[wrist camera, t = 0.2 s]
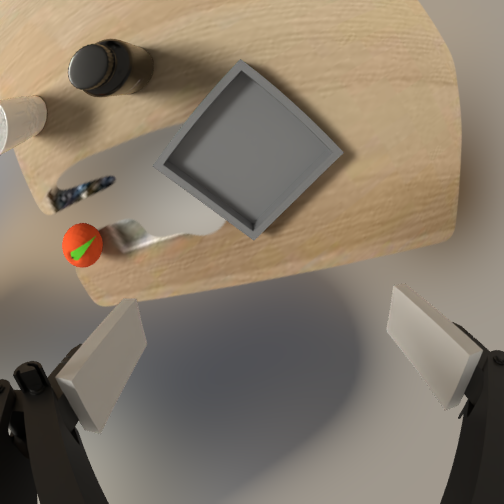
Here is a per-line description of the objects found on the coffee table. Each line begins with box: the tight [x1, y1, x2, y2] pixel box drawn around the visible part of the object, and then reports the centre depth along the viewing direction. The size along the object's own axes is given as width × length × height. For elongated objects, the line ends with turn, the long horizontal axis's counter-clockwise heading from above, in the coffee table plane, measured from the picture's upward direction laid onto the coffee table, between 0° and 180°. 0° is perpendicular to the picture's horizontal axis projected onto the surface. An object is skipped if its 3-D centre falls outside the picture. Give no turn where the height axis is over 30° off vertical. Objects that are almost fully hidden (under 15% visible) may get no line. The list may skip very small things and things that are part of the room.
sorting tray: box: [153, 59, 344, 240], centre depth 34 cm, size 17×17×3 cm
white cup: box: [0, 95, 47, 155], centre depth 25 cm, size 8×8×10 cm
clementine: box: [62, 223, 103, 267], centre depth 38 cm, size 8×7×7 cm
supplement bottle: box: [68, 39, 154, 97], centre depth 23 cm, size 7×7×12 cm
